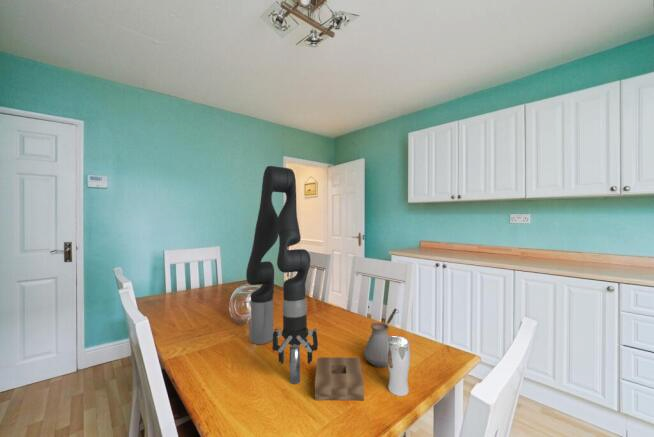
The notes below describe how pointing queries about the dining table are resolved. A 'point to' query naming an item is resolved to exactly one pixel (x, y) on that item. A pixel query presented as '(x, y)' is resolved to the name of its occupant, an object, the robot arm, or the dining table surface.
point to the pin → (294, 364)
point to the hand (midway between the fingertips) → (295, 362)
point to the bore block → (339, 379)
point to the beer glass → (398, 364)
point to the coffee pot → (378, 343)
